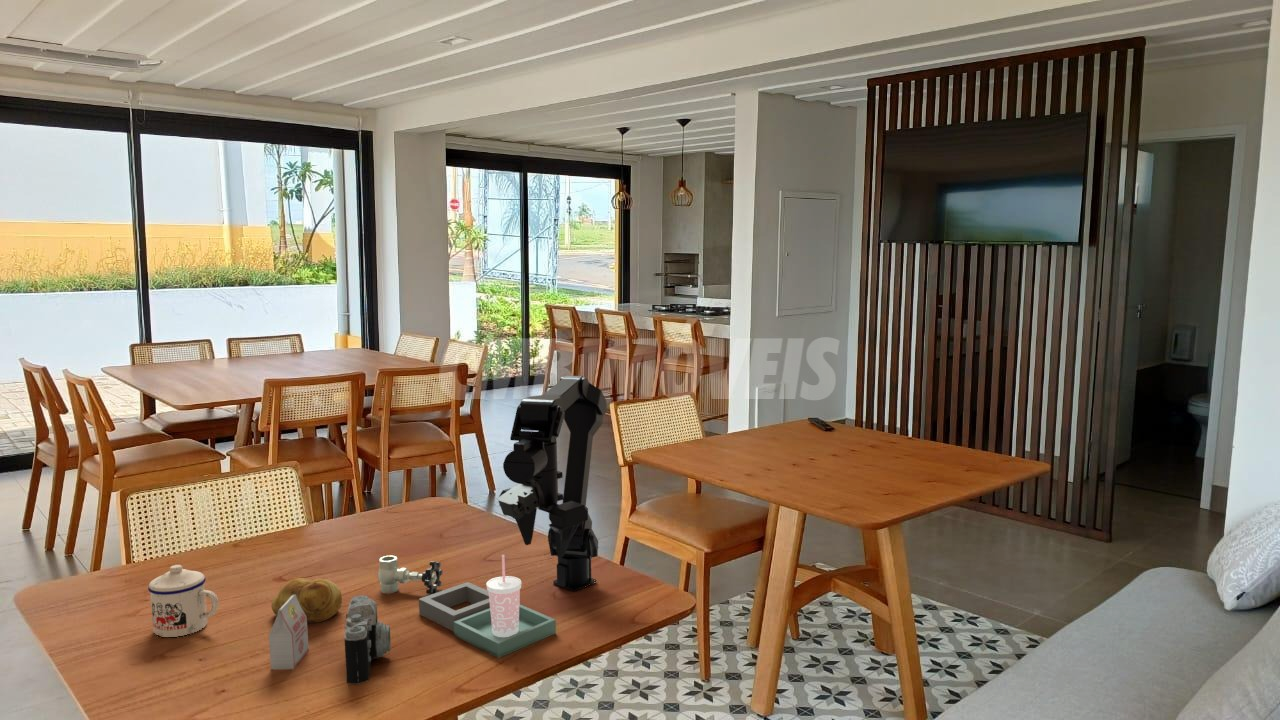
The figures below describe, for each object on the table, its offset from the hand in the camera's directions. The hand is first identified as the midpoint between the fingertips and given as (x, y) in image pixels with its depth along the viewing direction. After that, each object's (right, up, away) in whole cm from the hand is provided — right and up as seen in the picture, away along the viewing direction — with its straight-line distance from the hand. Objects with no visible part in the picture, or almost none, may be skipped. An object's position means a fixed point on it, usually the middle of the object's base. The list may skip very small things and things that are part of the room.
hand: (543, 550), depth 161 cm
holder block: (-16, -12, +4) cm, 20 cm away
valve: (-28, -11, +14) cm, 34 cm away
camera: (-27, -15, -15) cm, 35 cm away
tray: (-6, -14, -5) cm, 16 cm away
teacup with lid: (-64, -14, -2) cm, 65 cm away
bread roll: (-44, -13, +4) cm, 46 cm away
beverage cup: (-6, -13, -5) cm, 16 cm away
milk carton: (-41, -15, -14) cm, 46 cm away
